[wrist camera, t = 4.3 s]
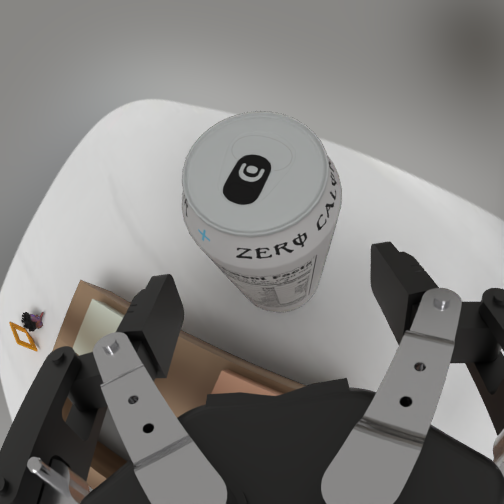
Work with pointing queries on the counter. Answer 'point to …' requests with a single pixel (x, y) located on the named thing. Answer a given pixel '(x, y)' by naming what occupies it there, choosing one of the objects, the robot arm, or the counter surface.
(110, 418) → the socket block
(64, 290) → the counter surface
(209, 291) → the counter surface
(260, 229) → the energy drink can
